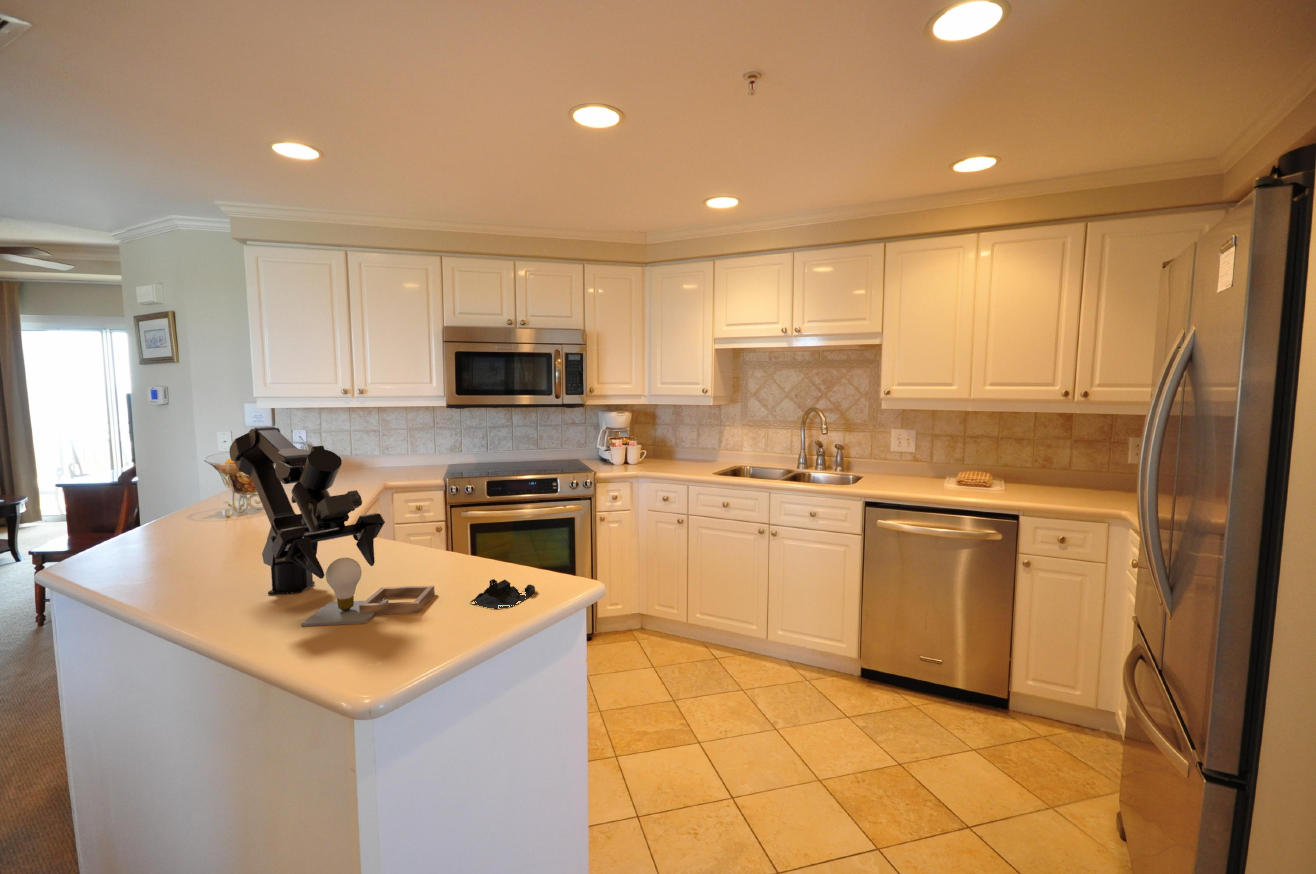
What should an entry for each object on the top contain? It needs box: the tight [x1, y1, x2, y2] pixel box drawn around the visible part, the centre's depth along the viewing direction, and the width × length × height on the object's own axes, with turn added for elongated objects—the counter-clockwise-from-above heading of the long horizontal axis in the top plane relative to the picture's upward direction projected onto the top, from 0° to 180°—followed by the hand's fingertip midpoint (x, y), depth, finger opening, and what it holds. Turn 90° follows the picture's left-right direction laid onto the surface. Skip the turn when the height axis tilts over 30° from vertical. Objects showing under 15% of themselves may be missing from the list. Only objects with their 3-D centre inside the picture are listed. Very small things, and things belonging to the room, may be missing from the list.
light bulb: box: [325, 557, 363, 611], centre depth 110 cm, size 6×6×10 cm
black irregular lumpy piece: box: [470, 578, 536, 610], centre depth 118 cm, size 12×10×5 cm
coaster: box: [300, 599, 390, 627], centre depth 111 cm, size 11×11×1 cm
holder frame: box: [359, 584, 436, 616], centre depth 115 cm, size 10×10×2 cm
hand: (348, 570), depth 109 cm, fingers open, 9 cm apart
